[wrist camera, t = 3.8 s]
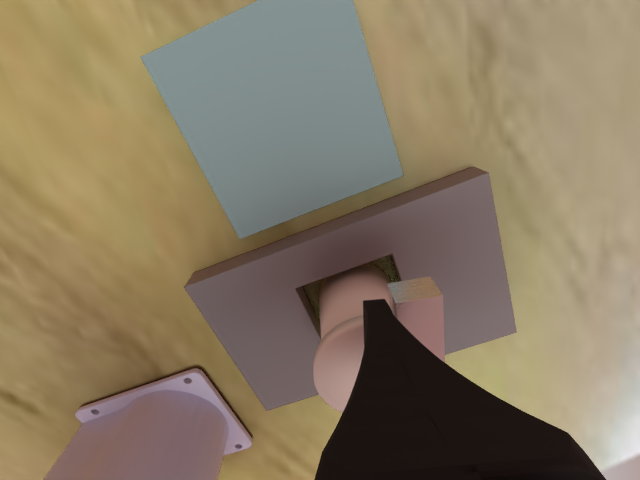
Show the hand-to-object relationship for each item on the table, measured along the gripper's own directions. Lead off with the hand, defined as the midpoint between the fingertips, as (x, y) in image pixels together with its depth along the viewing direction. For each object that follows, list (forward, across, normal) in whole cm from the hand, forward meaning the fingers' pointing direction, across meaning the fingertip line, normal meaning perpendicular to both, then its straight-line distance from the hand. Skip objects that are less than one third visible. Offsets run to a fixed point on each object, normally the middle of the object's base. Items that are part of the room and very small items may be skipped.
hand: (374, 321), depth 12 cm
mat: (+6, +3, -7) cm, 10 cm away
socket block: (+6, 0, +3) cm, 7 cm away
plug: (+6, 0, +3) cm, 7 cm away
